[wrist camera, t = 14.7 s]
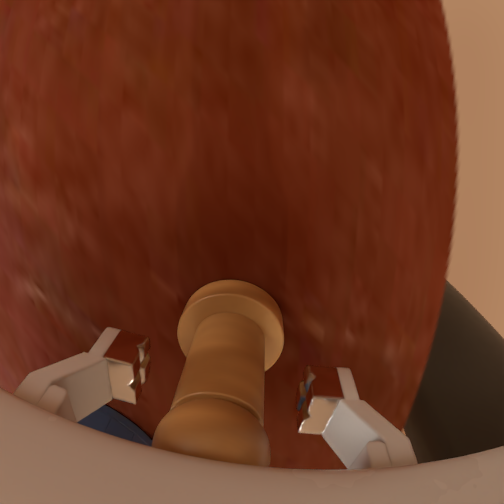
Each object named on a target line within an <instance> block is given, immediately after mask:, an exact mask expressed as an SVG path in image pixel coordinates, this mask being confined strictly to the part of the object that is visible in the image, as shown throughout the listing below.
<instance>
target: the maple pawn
mask: <svg viewBox="0 0 504 504" xmlns="http://www.w3.org/2000/svg"><path fill="white" fill-rule="evenodd" d="M177 336H178V342H179V345H180V348H181V350H182V352H183V353H184V355H185V356H186V358H187V359H186V362H185V365H184V368H183V371H182V374H181V377H180V380H179V383H178V387H177V390H176V393H175V396H174V399H173V402H172V405H171V408H170V411H169V412H168V413H167V414H166V415H165V417H164V418H163V419H162V420H161V421H160V423H159V425H158V426H157V428H156V430H155V433H154V436H153V440H152V447H155V448H159V449H163V450H167V451H171V452H176V453H180V454H185V455H190V456H195V457H200V458H205V459H211V460H217V461H223V462H230V463H237V464H245V465H254V466H264V467H269V465H270V458H271V450H270V444H269V440H268V436H267V434H266V432H265V430H264V428H263V424H264V377H265V371H266V370H268V369H269V368H270V367H271V366H272V365H273V364H274V363H275V362H276V361H277V360H278V358H279V356H280V355H281V352H282V350H283V346H284V328H283V318H282V314H281V311H280V309H279V307H278V305H277V303H276V302H275V300H274V299H273V298H272V297H271V296H270V295H269V294H268V293H267V292H266V291H264V290H263V289H261V288H259V287H257V286H255V285H254V284H251V283H248V282H244V281H240V280H220V281H216V282H212V283H210V284H207V285H205V286H203V287H201V288H200V289H199V290H197V291H196V292H195V293H194V294H193V295H192V296H191V297H190V299H189V300H188V302H187V304H186V306H185V308H184V311H183V313H182V315H181V318H180V320H179V323H178V328H177Z"/></svg>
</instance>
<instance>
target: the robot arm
mask: <svg viewBox="0 0 504 504" xmlns="http://www.w3.org/2000/svg"><path fill="white" fill-rule="evenodd" d="M149 349H150V338H149V337H146V336H142V335H139V334H135V333H131V332H128V331H124V330H120V329H116V328H113V327H107V328H106V329H105V330H104V332H103V333H102V334H101V336H100V337H99V338H98V340H97V341H96V343H95V344H94V345H93V347H92V348H91V349H90V351H89V352H88V353H86V352H83V353H80V354H78V355H75V356H73V357H70V358H67V359H65V360H62V361H60V362H57V363H54V364H52V365H49V366H46V367H44V368H41V369H38V370H36V371H33V372H30V373H29V374H28V375H27V377H26V378H25V379H24V380H23V382H22V383H21V384H20V385H19V387H18V388H17V389H16V390H15V392H14V393H13V394H12V393H10V392H8V391H6V390H4V389H3V388H1V387H0V504H504V446H501V447H498V448H494V449H490V450H487V451H483V452H479V453H474V454H470V455H466V456H461V457H456V458H451V459H446V460H440V461H434V462H427V463H421V464H418V462H417V459H416V456H415V453H414V451H413V448H412V445H411V442H410V439H409V438H408V437H407V436H406V435H404V434H403V433H402V432H401V431H399V430H398V429H397V428H396V427H395V426H394V425H392V424H391V423H390V422H389V421H388V420H386V419H385V418H384V417H383V416H382V415H380V414H379V413H378V412H377V411H376V410H375V409H373V408H372V407H371V406H370V405H369V404H368V403H366V402H365V401H364V400H360V398H359V395H358V392H357V389H356V385H355V382H354V379H353V376H352V373H351V370H350V369H349V368H341V367H335V368H334V367H324V366H314V365H307V366H306V367H305V369H304V372H303V379H304V380H303V381H301V382H300V383H299V386H298V389H297V393H296V409H297V410H298V411H299V413H298V416H297V427H298V432H299V433H310V434H322V436H323V438H324V439H325V440H326V442H327V443H328V444H329V445H330V447H331V448H332V449H333V451H334V452H335V453H336V454H337V456H338V457H339V458H340V459H341V461H342V462H343V463H344V465H345V466H346V467H347V468H348V469H343V470H317V469H290V468H276V467H264V466H254V465H245V464H237V463H230V462H223V461H217V460H211V459H205V458H200V457H195V456H190V455H185V454H180V453H176V452H171V451H167V450H163V449H159V448H155V447H151V446H147V445H143V444H140V443H136V442H133V441H129V440H126V439H123V438H119V437H116V436H113V435H110V434H107V433H104V432H101V431H98V430H95V429H92V428H90V427H87V426H84V425H81V424H79V423H77V422H78V421H80V420H81V419H83V418H85V417H86V416H88V415H89V414H91V413H92V412H94V411H96V410H97V409H99V408H100V407H102V406H103V405H105V404H106V403H108V402H109V401H111V400H112V398H113V399H117V400H120V401H124V402H128V403H132V404H136V403H137V401H138V398H139V396H140V394H141V392H142V388H141V384H143V383H145V382H146V380H147V378H148V374H149V370H150V363H151V357H150V356H149V354H148V351H149Z"/></svg>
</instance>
